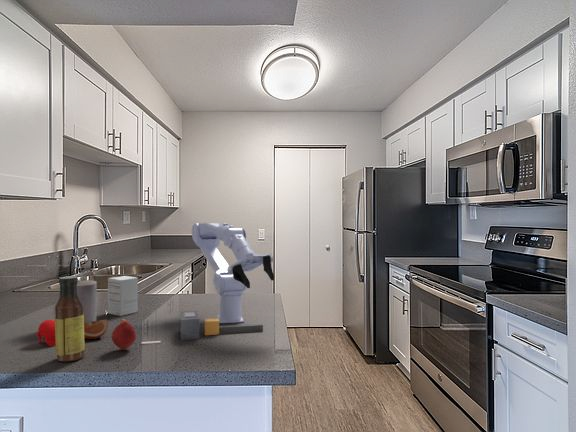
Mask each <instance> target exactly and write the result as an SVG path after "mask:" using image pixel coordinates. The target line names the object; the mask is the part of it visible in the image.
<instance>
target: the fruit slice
mask: <svg viewBox="0 0 576 432" xmlns="http://www.w3.org/2000/svg"><path fill="white" fill-rule="evenodd" d="M108 325H109V322H108V319H99V320H96V321H92V322H91V323H84V339H87V340H96V339H99V338H101V337H103V336H104V334H105V333H106V332H107V331H108Z"/></svg>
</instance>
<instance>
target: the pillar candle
mask: <svg viewBox="0 0 576 432" xmlns="http://www.w3.org/2000/svg"><path fill="white" fill-rule="evenodd" d="M97 283H98V282H97V281H96V280H91V279H86V280H85V279H83V280H82V279H81V278H79V280H78V282H77V292H78V297H79V300H80V302H81V304H82V307H83V312H84V323H91V322H92V321H97V304H98V303H97V297H98V295H97V293H98V292H97V291H98V289H97V288H98V287H97V286H98V284H97Z"/></svg>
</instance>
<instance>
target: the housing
mask: <svg viewBox="0 0 576 432" xmlns="http://www.w3.org/2000/svg"><path fill="white" fill-rule="evenodd" d="M199 316H200V315H199V313H198V310H187V311H184V310H183V311H182V310H181V311H180V322H179V323H180V326H179V327H180V329H179V331H180V340H181V341H186V340H189V341H190V340H199V339H200V317H199Z"/></svg>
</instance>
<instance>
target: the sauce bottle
mask: <svg viewBox="0 0 576 432" xmlns="http://www.w3.org/2000/svg"><path fill="white" fill-rule="evenodd" d="M77 282H78V276H74V275H71V276H69V275H68V276H62V277H59V278H58V284H59V289H60V291H59V299H58V300H57V302H56V305H55V307H54V310H55V311H54V314H55V315H54V316H55V318H54V321H55V336H56V345H55V354H56V361H58V362H64V363H67V362H74V361H78V360H81V359H82V358H84V356H85V338H84V312H83V307H82V304H81V302H80V300H79V297H78V292H77Z"/></svg>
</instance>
